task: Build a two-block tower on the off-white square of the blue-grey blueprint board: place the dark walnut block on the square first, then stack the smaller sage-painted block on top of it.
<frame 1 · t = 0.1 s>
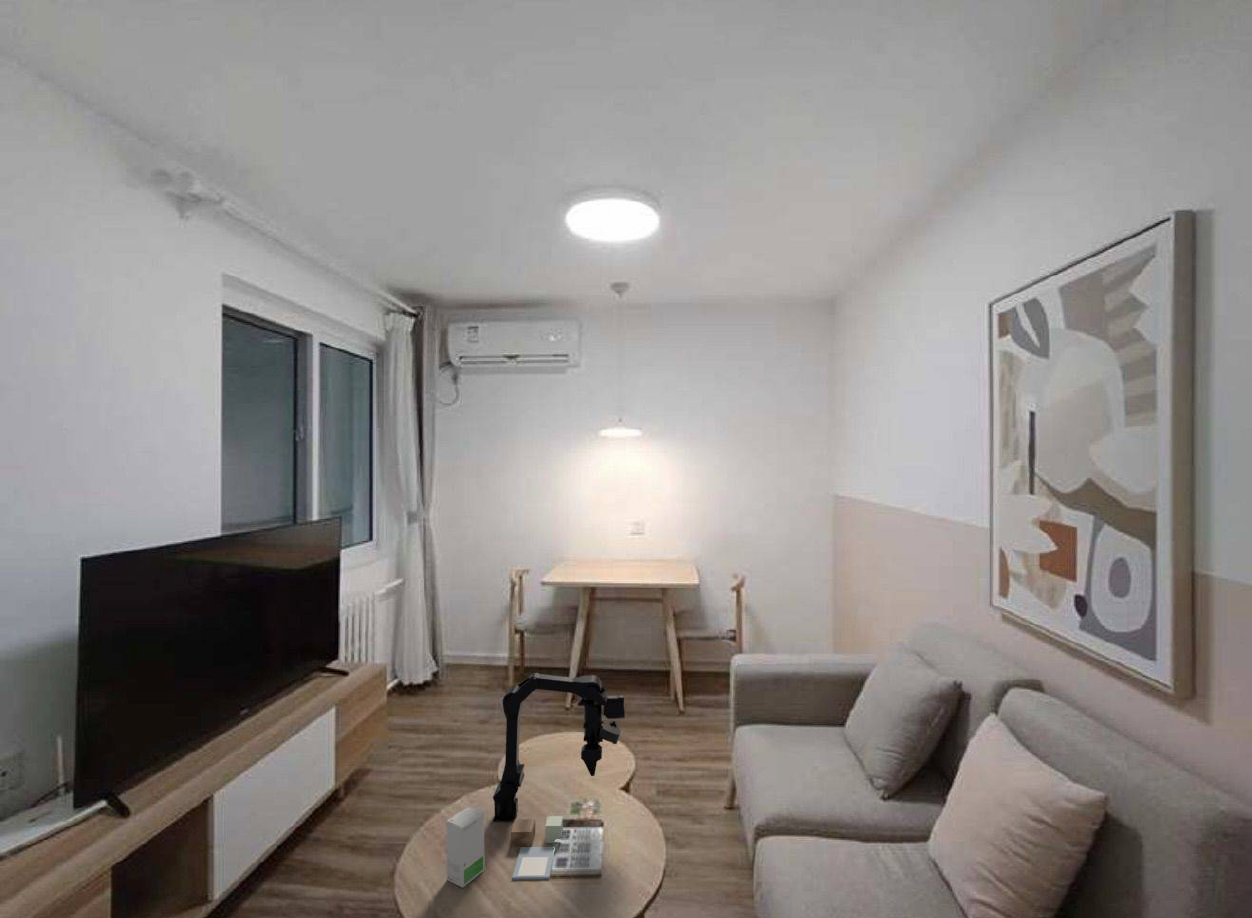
hand: (593, 767, 179), 15 cm above the table, fingers open, 9 cm apart
skincare box: (465, 875, 153), on the table
walnut block: (523, 840, 167), on the table
sage block: (554, 837, 168), on the table
blueprint board: (534, 863, 157), on the table
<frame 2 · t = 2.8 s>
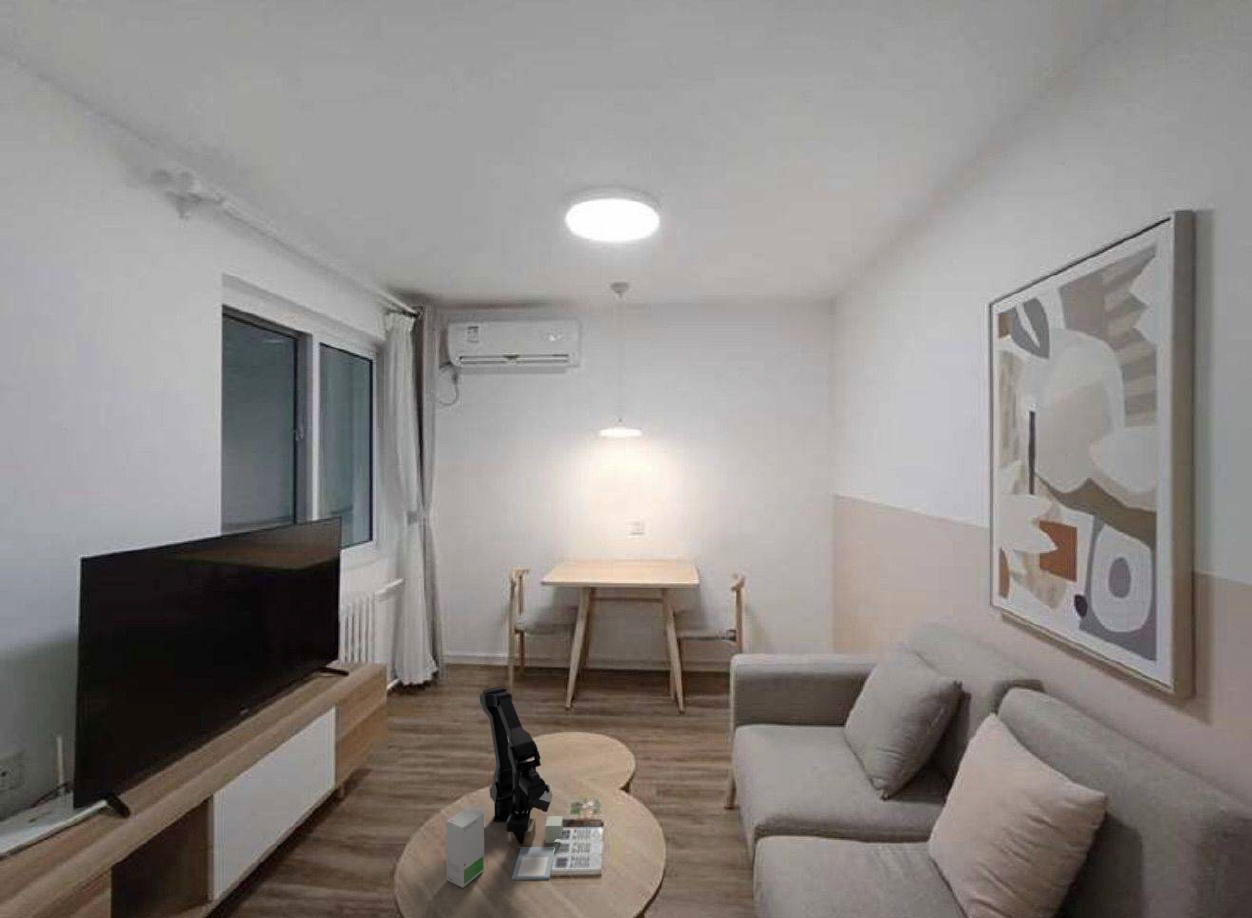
hand: (523, 836, 167), 1 cm above the table, fingers closed on walnut block, 6 cm apart
walnut block: (523, 840, 167), on the table, touching gripper
everything else where it was.
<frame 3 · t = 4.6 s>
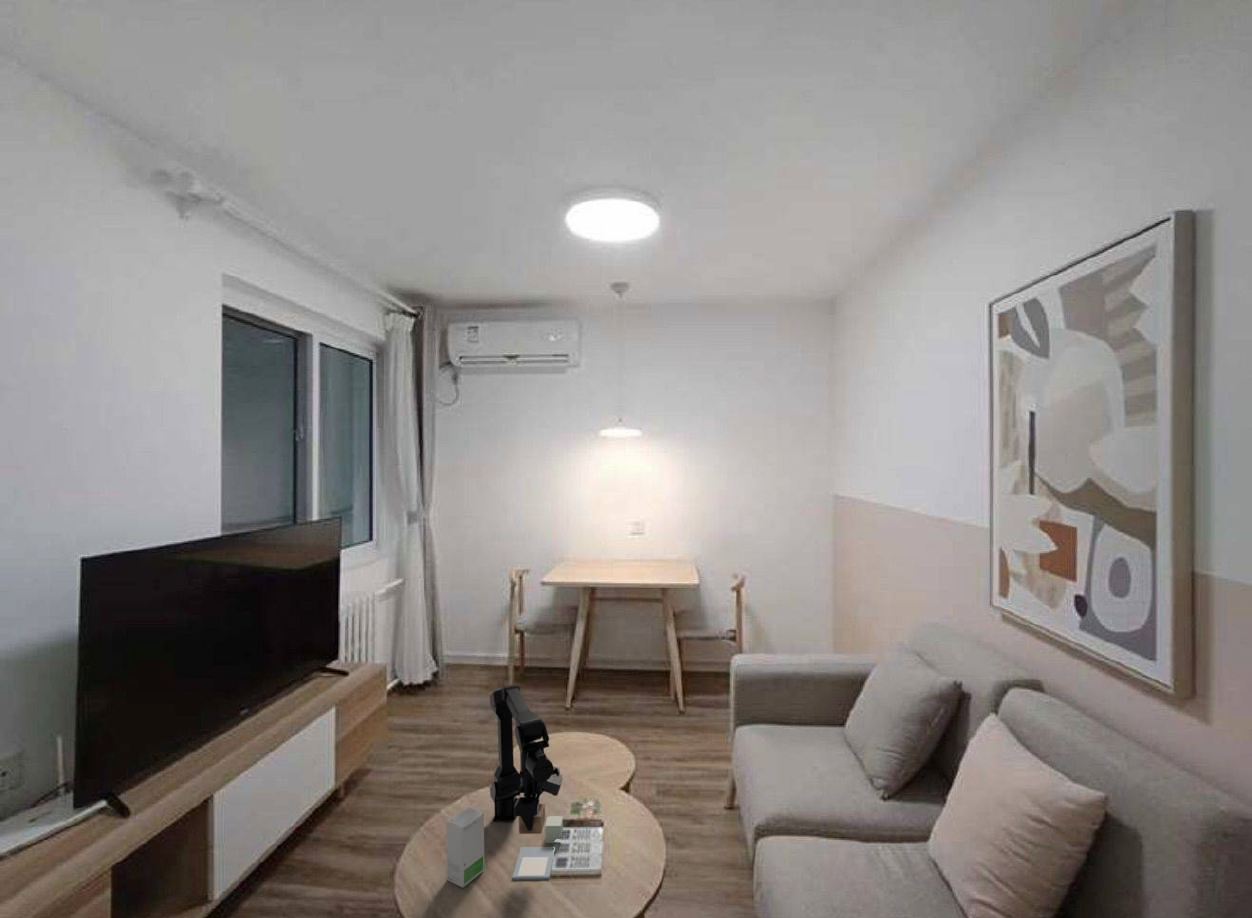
hand: (532, 823, 156), 12 cm above the table, fingers closed on walnut block, 6 cm apart
walnut block: (532, 826, 156), point 11 cm above the table, touching gripper
everything else where it was.
when the fingers open (3 cm above the table, at t = 6.7 s): walnut block drops 1 cm, resting on blueprint board.
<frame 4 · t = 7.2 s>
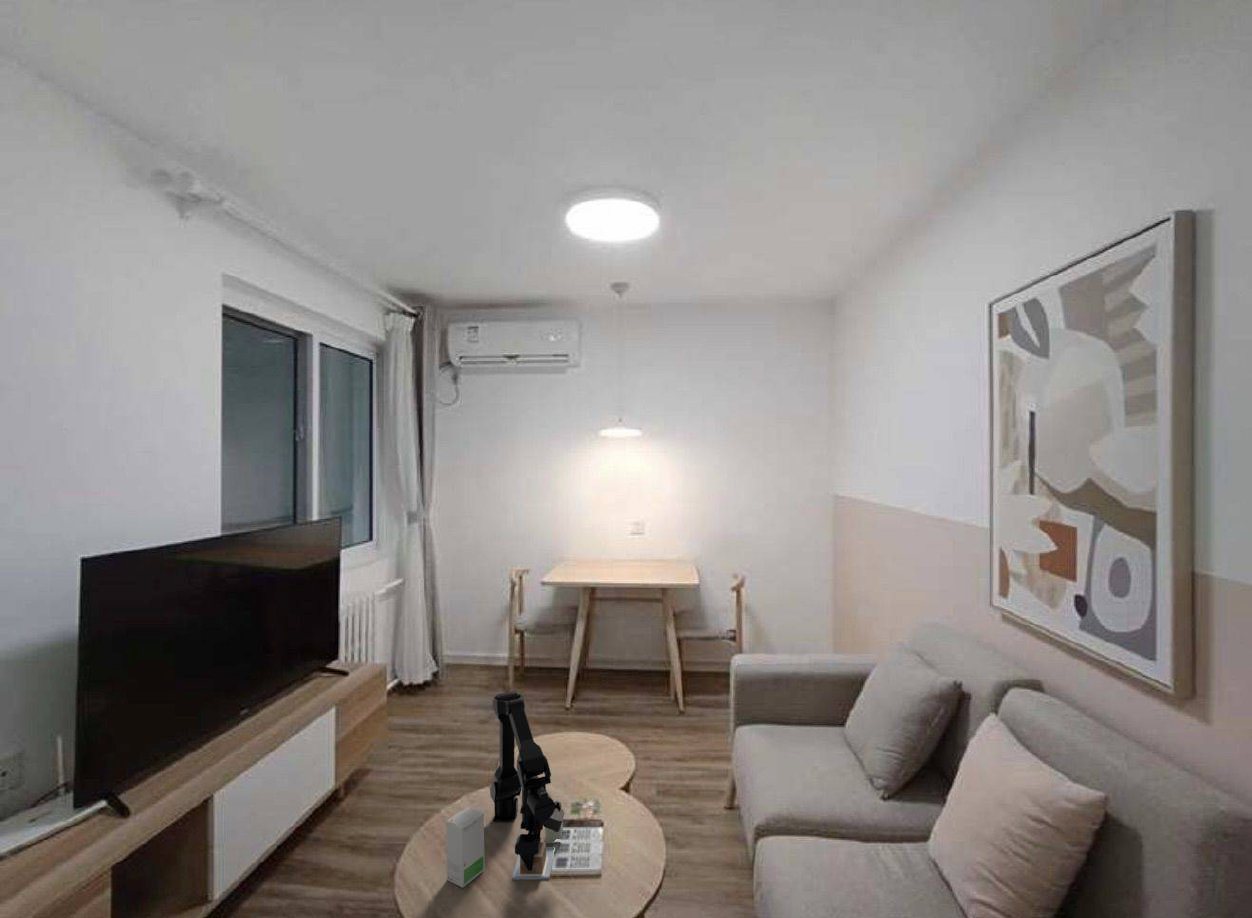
hand: (533, 858, 155), 3 cm above the table, fingers open, 9 cm apart
walnut block: (533, 865, 155), point 1 cm above the table, touching blueprint board
everything else where it was.
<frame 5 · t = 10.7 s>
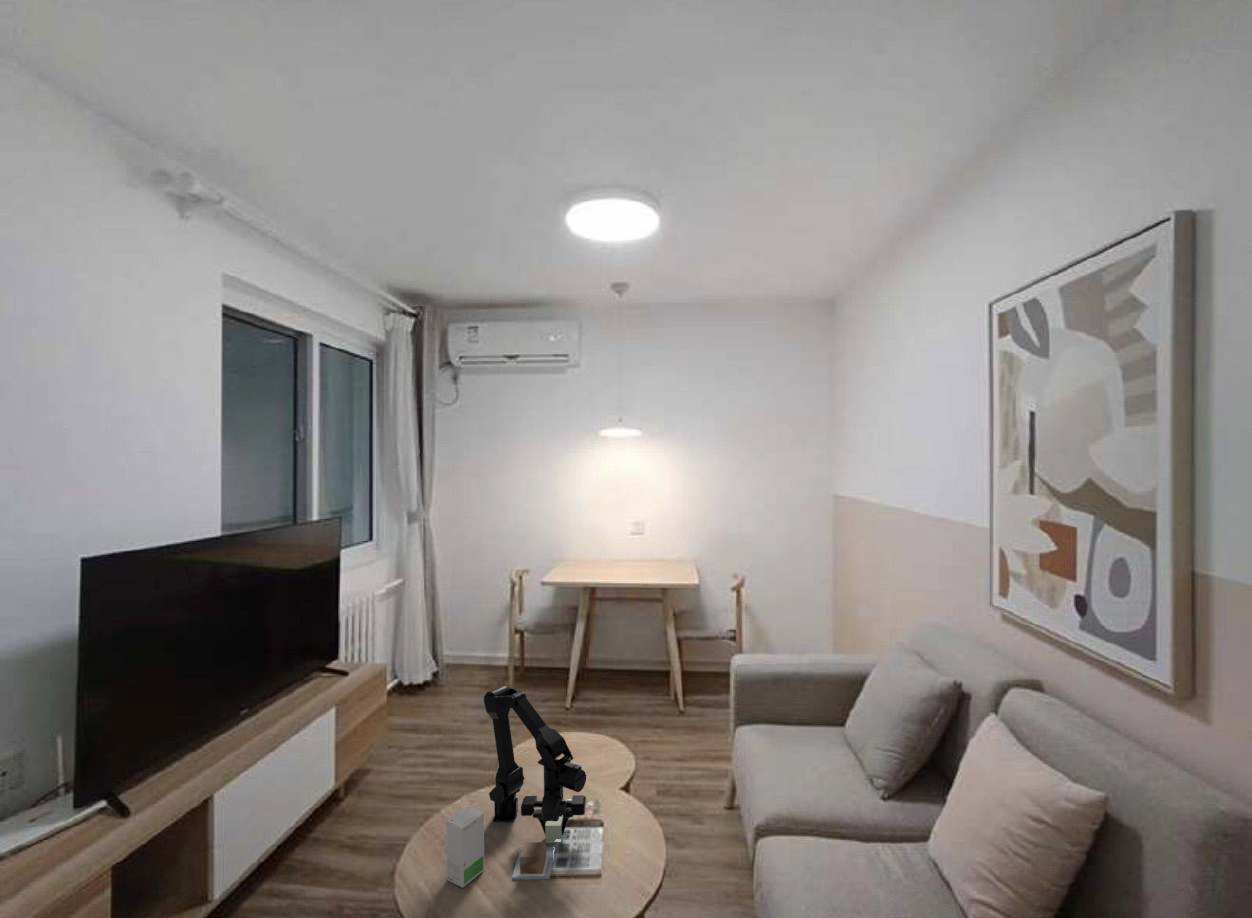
hand: (554, 834, 168), 1 cm above the table, fingers closed on sage block, 5 cm apart
sage block: (554, 837, 168), on the table, touching gripper
everything else where it was.
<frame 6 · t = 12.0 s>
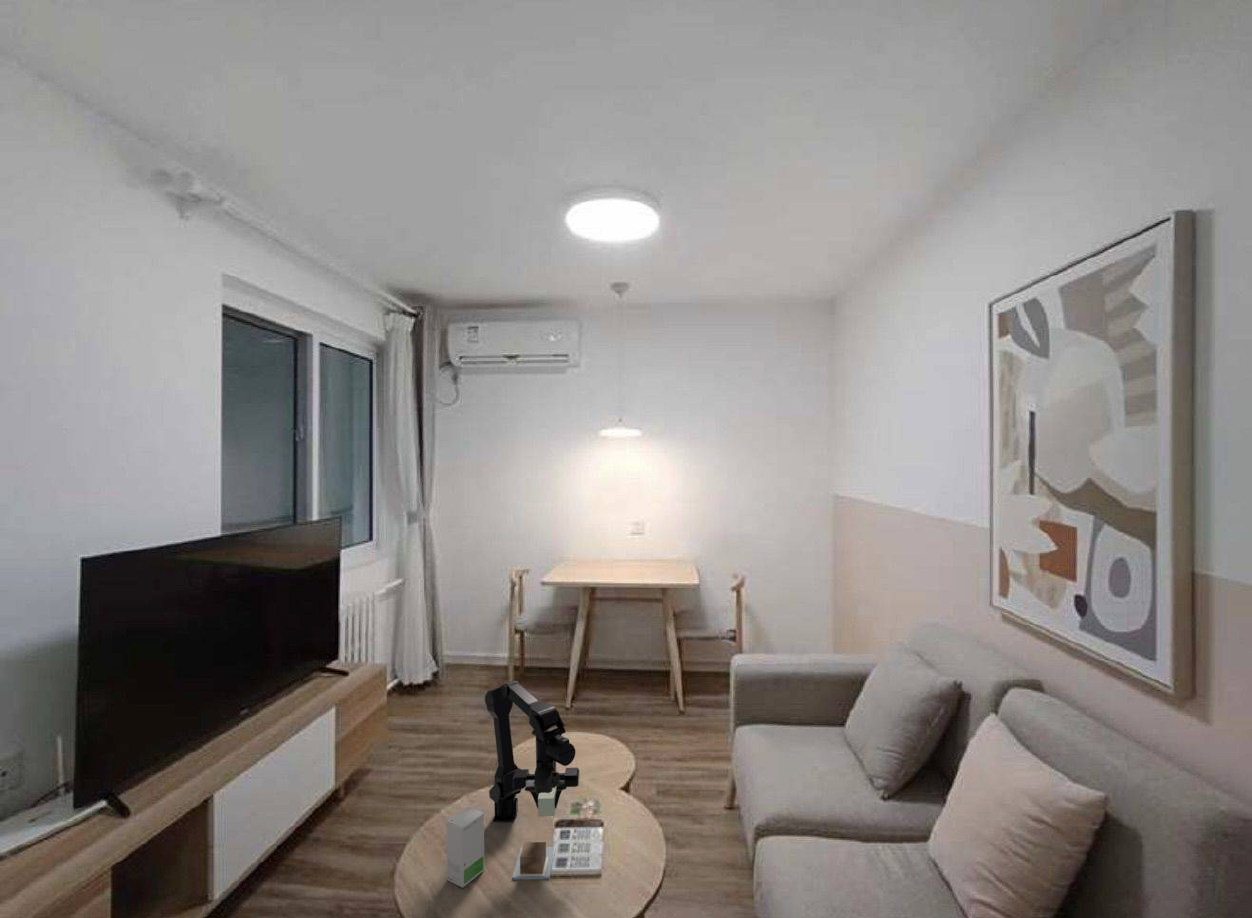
hand: (547, 807, 163), 12 cm above the table, fingers closed on sage block, 5 cm apart
sage block: (547, 811, 163), point 11 cm above the table, touching gripper
everything else where it was.
when the fingers open (7 cm above the table, at t = 13.7 s): sage block drops 1 cm, resting on walnut block.
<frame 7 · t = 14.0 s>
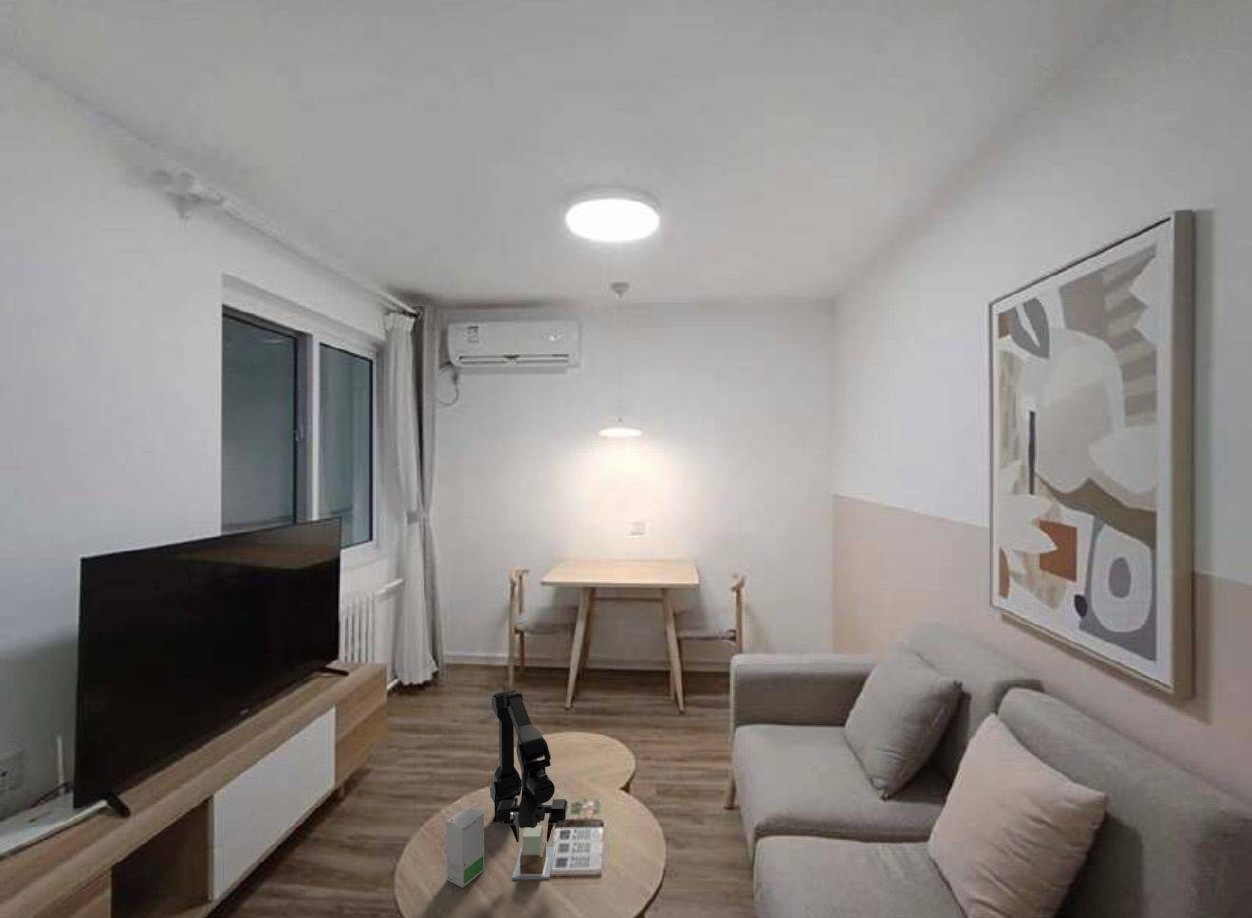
hand: (532, 841, 155), 7 cm above the table, fingers open, 8 cm apart
walnut block: (533, 865, 155), point 1 cm above the table, touching blueprint board, sage block
sage block: (533, 849, 155), point 5 cm above the table, touching walnut block
everything else where it was.
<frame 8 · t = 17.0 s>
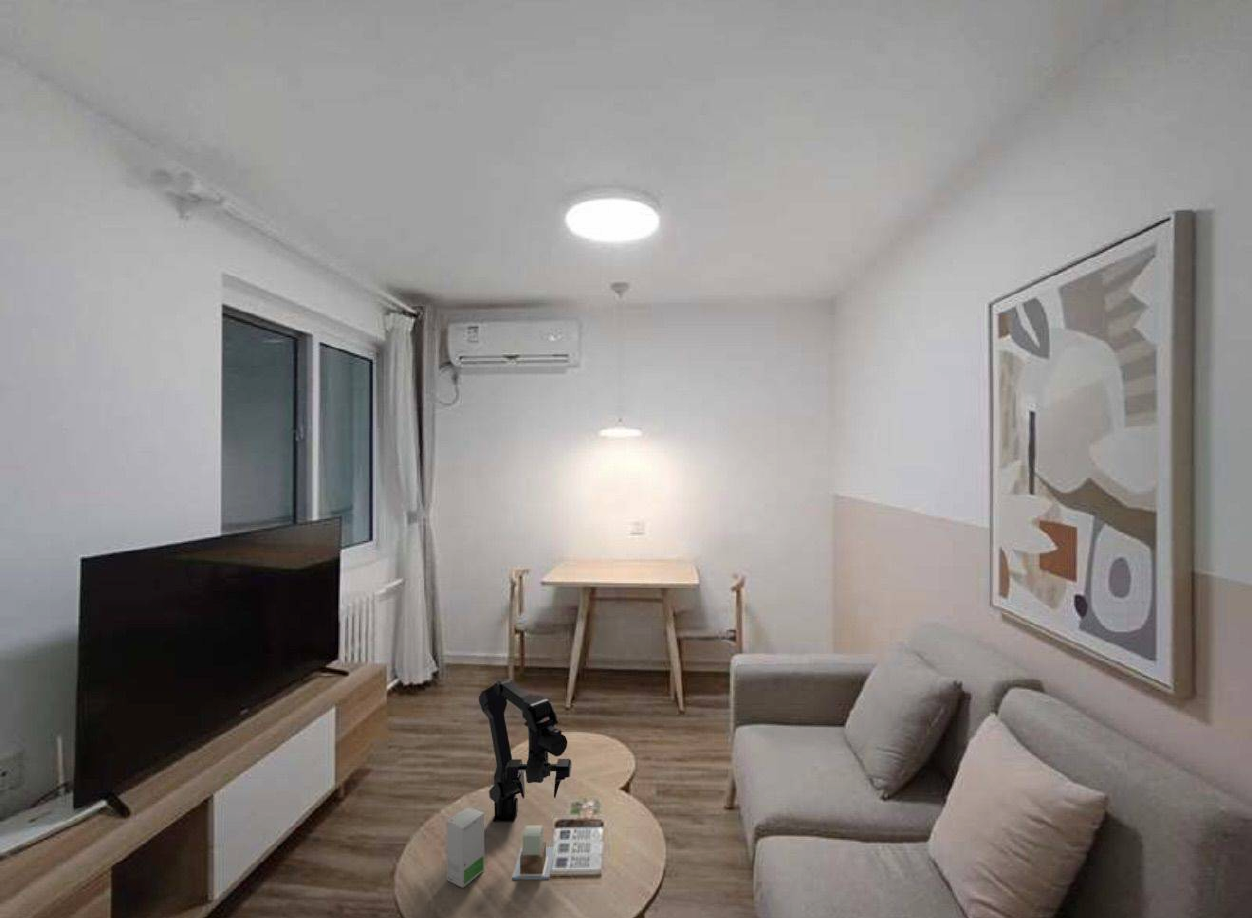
hand: (539, 797, 166), 13 cm above the table, fingers open, 9 cm apart
nothing on the table moved.
at the end: walnut block inside the target area (0.0 cm from its centre), point 0.7 cm above the table; sage block 0.0 cm off-centre on the walnut block, point 4.5 cm above the walnut block's base; sage block tilted 0° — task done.
